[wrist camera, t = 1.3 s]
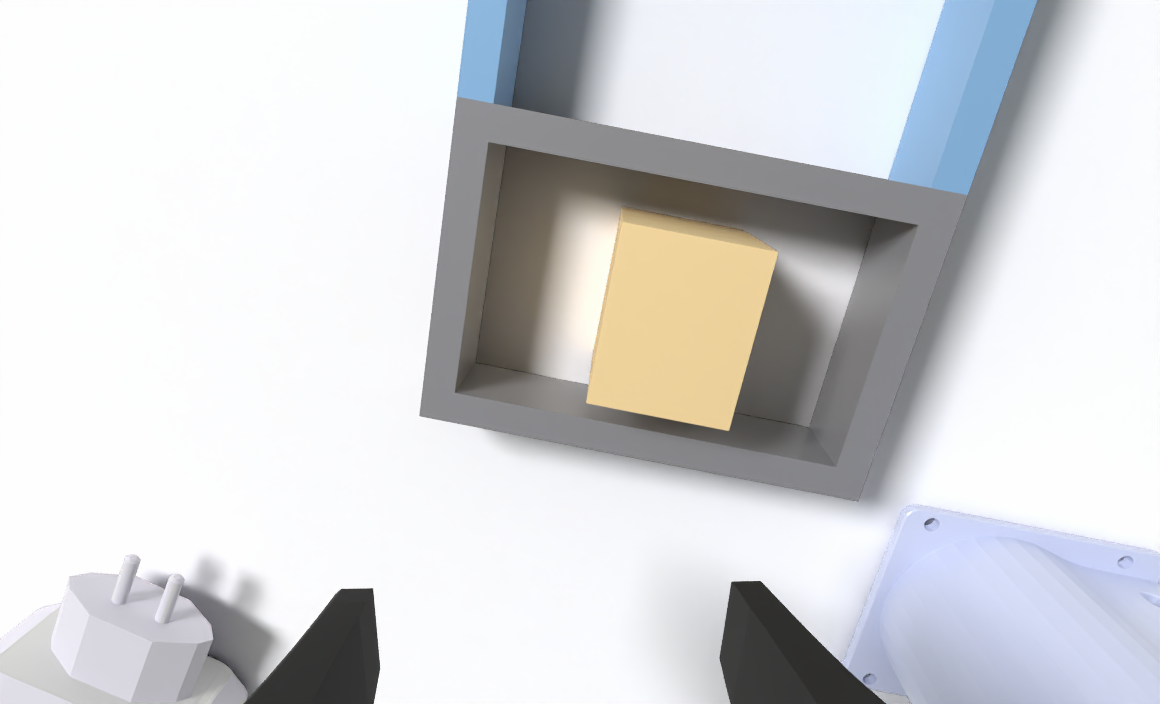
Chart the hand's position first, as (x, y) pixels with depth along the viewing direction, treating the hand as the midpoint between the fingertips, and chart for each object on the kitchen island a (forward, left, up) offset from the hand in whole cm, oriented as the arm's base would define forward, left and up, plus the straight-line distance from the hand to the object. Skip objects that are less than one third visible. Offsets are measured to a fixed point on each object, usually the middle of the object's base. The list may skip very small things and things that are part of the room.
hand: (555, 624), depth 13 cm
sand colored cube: (-2, -5, -11) cm, 12 cm away
